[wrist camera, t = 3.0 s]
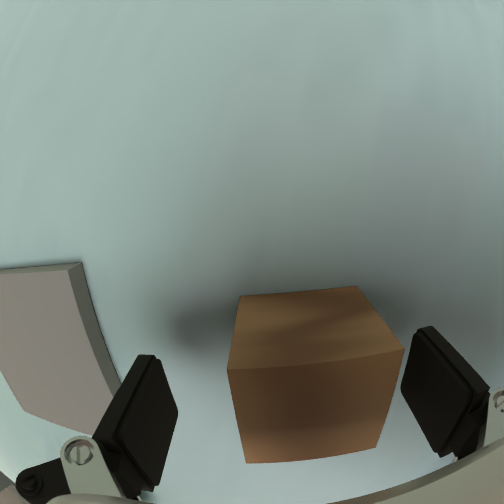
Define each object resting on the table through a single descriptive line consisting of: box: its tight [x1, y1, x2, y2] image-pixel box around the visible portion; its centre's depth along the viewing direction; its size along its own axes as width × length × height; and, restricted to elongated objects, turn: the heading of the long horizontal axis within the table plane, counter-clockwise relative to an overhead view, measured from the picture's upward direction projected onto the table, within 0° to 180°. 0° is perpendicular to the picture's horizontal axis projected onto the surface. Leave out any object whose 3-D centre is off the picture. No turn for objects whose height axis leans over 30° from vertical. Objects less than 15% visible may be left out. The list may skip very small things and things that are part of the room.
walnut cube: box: [227, 286, 405, 463], centre depth 10 cm, size 5×5×5 cm
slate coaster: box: [0, 263, 121, 436], centre depth 13 cm, size 12×12×1 cm
